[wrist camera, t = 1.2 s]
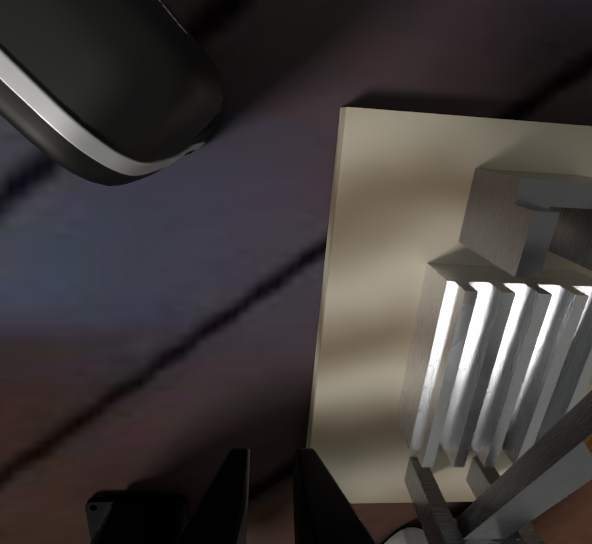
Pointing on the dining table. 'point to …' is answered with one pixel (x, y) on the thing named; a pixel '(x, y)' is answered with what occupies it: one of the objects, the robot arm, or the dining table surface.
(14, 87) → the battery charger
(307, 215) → the dining table surface
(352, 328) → the base board
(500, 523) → the strap
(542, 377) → the finned block
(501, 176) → the bracket
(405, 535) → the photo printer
